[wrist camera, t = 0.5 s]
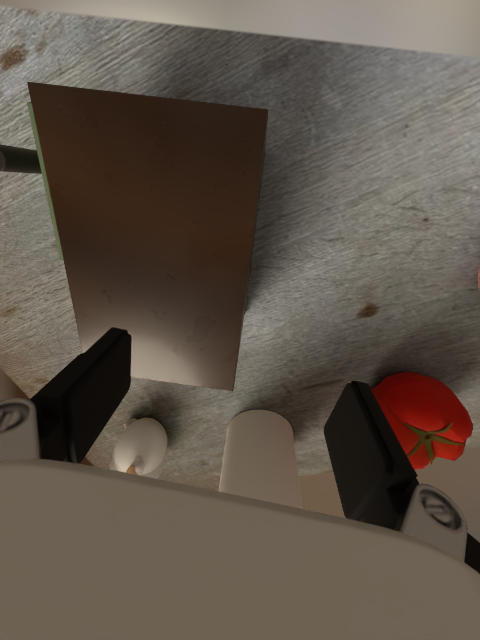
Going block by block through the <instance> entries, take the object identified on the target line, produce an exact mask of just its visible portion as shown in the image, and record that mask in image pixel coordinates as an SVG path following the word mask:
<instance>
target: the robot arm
mask: <svg viewBox="0 0 480 640" xmlns="http://www.w3.org/2000/svg"><path fill="white" fill-rule="evenodd" d="M131 342H132V337H131V335H130V334H128V331H127V330H124V329H120V328H115V327H112V328H110V329H109V330H108V331H107V332H106V333H105V334H104V335H103V336H102V337H101V338H100V339H99V340H97V341H96V342H95V343H94V344H93V345H92V346H91V347H90V348H89V349H88V350H87V351H86V352H84V353H82V354H80V355H78V356H77V357H76V358H75V359H74V360H73V361H72V362H71V363H69V364H68V365H67V366H66V367H65V368H64V369H63V370H62V371H61V372H60V373H58V374H57V375H56V376H55V377H54V378H53V379H52V380H51V381H50V382H49V383H48V384H46V385H45V386H44V387H43V388H42V389H41V390H40V391H39V392H38V393H37V394H35V395H34V396H33V397H32V398H31V399H30V400H27V399H24V398H12V399H6V400H2V401H0V640H480V543H479V542H478V541H477V540H476V539H474V538H473V537H472V536H471V535H470V534H468V533H467V530H468V528H467V522H466V519H465V517H464V515H463V513H462V512H461V510H460V509H459V507H458V506H457V505H456V504H455V503H454V502H453V501H452V499H451V498H449V497H448V496H447V495H446V494H445V493H444V492H442V491H440V490H439V489H437V488H435V487H433V486H431V485H428V484H419V482H418V480H417V479H416V477H417V474H416V472H415V470H414V468H413V466H412V465H411V463H410V461H409V459H408V457H407V455H406V453H405V451H404V450H403V448H402V446H401V444H400V442H399V440H398V438H397V437H396V435H395V433H394V431H393V429H392V427H391V425H390V424H389V422H388V420H387V418H386V416H385V414H384V412H383V411H382V409H381V407H380V405H379V403H378V401H377V399H376V398H375V396H374V394H373V392H372V390H371V388H370V386H369V385H368V384H367V383H363V382H358V381H352V382H351V383H347V384H346V386H345V388H344V390H343V392H342V394H341V395H340V397H339V399H338V401H337V403H336V405H335V407H334V409H333V411H332V413H331V414H330V416H329V418H328V420H327V422H326V424H325V426H324V435H325V439H326V443H327V447H328V451H329V455H330V459H331V463H332V467H333V471H334V475H335V479H336V483H337V487H338V491H339V495H340V499H341V503H342V507H343V511H344V515H345V517H346V518H347V519H346V518H342V517H337V516H333V515H328V514H323V513H318V512H314V511H309V510H305V509H300V508H295V507H291V506H286V505H281V504H277V503H272V502H267V501H262V500H257V499H253V498H248V497H243V496H238V495H233V494H229V493H224V492H219V491H214V490H209V489H204V488H199V487H194V486H190V485H185V484H180V483H175V482H170V481H165V480H160V479H155V478H150V477H145V476H140V475H135V474H130V473H125V472H120V471H115V470H109V469H104V468H98V467H93V466H87V465H81V464H76V463H80V462H81V461H82V460H83V458H84V457H85V456H86V454H87V452H88V451H89V449H90V448H91V446H92V445H93V443H94V442H95V440H96V439H97V437H98V436H99V434H100V433H101V431H102V430H103V428H104V427H105V425H106V424H107V422H108V421H109V419H110V418H111V416H112V415H113V413H114V412H115V410H116V409H117V407H118V406H119V404H120V402H121V401H122V399H123V398H124V396H125V395H126V393H127V392H128V390H129V388H130V383H131Z"/></svg>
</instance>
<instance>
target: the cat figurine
mask: <svg viewBox="0 0 480 640" xmlns="http://www.w3.org/2000/svg"><path fill="white" fill-rule="evenodd" d="M124 427H125V428H124V431H123V433H122V434H121V435H120V437H119V439H118V441H117V443H116V446H115V449H114V451H113V456H112V457H111V459H110V467H109V470H115V471H120V472H125V473H130V474H135V475H140V476H145V477H150V478H155V479H158V478H159V476H160V475H161V473H162V469H163V458H164V456H165V453H166V450H167V435H166V432H165V429H164V428H163V426H162V425H161V424H160V423H159V422H158V421H156V420H154V419H152V418H142V419H139V420H137V419H136V418H133V419H129V420H127V422H126V423H125V424H124Z"/></svg>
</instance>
